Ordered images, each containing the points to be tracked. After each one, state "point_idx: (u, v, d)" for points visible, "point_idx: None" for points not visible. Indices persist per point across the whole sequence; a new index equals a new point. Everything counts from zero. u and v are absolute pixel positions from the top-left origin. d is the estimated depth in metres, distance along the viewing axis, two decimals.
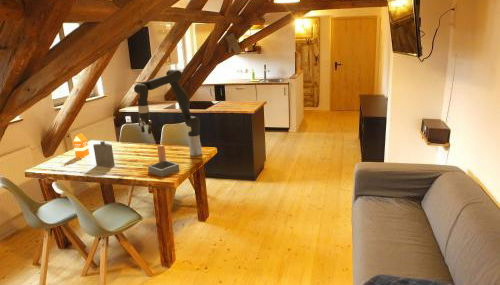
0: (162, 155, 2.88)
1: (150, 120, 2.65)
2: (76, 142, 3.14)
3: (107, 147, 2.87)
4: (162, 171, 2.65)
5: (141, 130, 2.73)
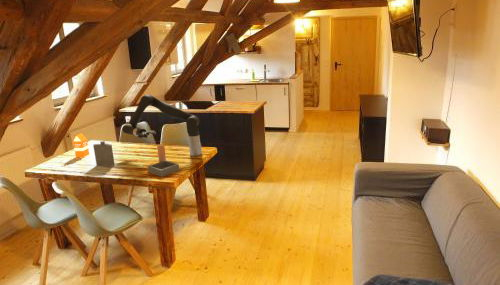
0: (162, 155, 2.88)
1: (136, 134, 2.95)
2: (76, 142, 3.14)
3: (107, 147, 2.87)
4: (162, 171, 2.65)
5: (155, 135, 2.98)
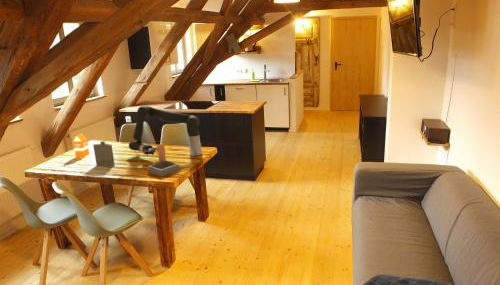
0: (162, 155, 2.88)
1: (143, 151, 2.95)
2: (76, 142, 3.14)
3: (107, 147, 2.87)
4: (162, 171, 2.65)
5: None
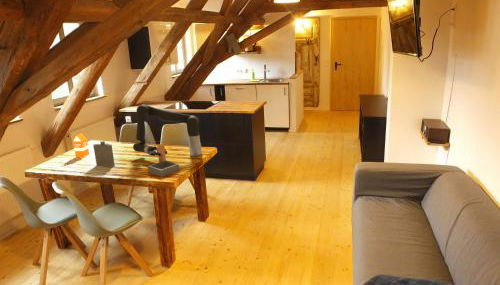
0: (162, 155, 2.88)
1: (148, 153, 2.90)
2: (76, 142, 3.14)
3: (107, 147, 2.87)
4: (162, 171, 2.65)
5: (166, 153, 2.92)
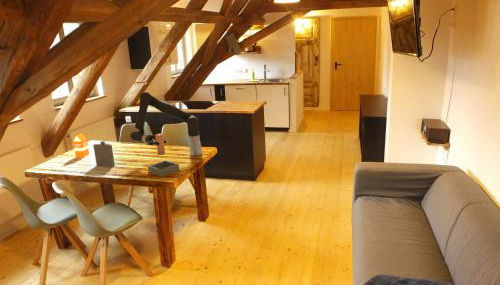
0: (161, 144, 2.71)
1: (146, 142, 2.73)
2: (76, 142, 3.14)
3: (107, 147, 2.87)
4: (162, 171, 2.65)
5: None
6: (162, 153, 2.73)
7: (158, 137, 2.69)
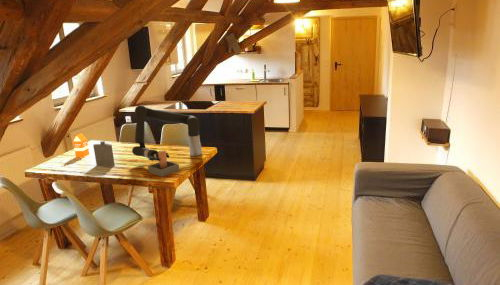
0: (163, 161, 2.71)
1: (148, 157, 2.73)
2: (76, 142, 3.14)
3: (107, 147, 2.87)
4: (162, 171, 2.65)
5: None
6: None
7: (161, 154, 2.70)
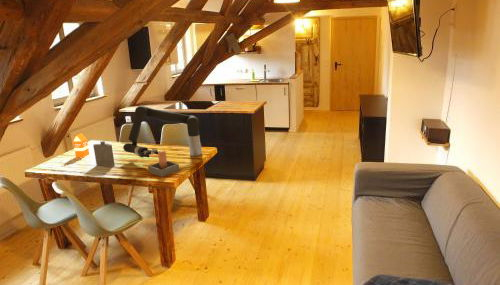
0: (163, 161, 2.71)
1: (138, 154, 2.82)
2: (76, 142, 3.14)
3: (107, 147, 2.87)
4: (162, 171, 2.65)
5: (157, 154, 2.85)
6: None
7: (161, 154, 2.69)
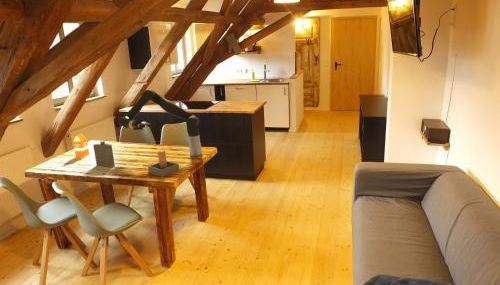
0: (163, 161, 2.71)
1: (132, 127, 2.87)
2: (76, 142, 3.14)
3: (107, 147, 2.87)
4: (162, 171, 2.65)
5: None
6: None
7: (160, 154, 2.69)
